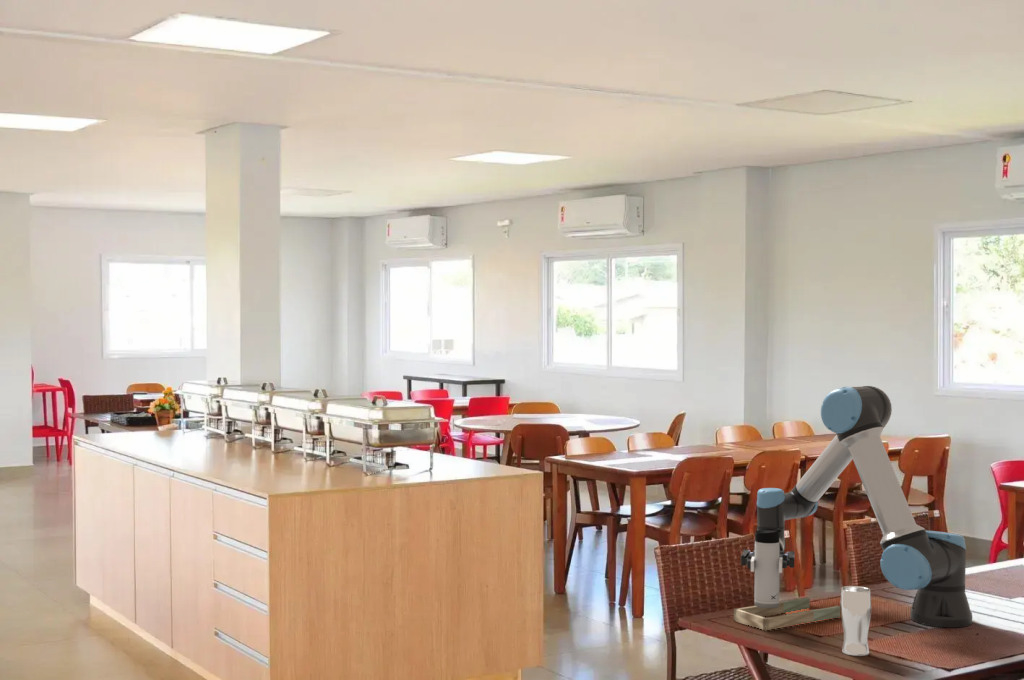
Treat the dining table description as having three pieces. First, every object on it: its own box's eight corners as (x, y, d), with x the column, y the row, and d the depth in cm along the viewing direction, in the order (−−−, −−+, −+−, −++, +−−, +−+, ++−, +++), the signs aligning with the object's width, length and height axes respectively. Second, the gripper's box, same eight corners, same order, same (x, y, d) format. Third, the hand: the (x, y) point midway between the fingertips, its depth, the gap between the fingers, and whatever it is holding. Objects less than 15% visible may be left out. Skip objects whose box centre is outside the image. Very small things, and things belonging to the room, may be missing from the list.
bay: (840, 618, 305) (840, 606, 305) (765, 631, 292) (765, 619, 292) (806, 608, 315) (806, 597, 315) (733, 620, 302) (733, 609, 302)
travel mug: (780, 609, 296) (780, 531, 296) (753, 607, 298) (754, 529, 297) (780, 603, 302) (781, 527, 302) (754, 602, 304) (755, 526, 304)
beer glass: (835, 648, 276) (836, 585, 276) (864, 648, 276) (864, 585, 276) (846, 657, 269) (846, 592, 269) (875, 656, 270) (876, 592, 269)
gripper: (806, 566, 315) (805, 583, 292) (733, 563, 320) (727, 580, 297) (805, 538, 315) (805, 553, 292) (733, 535, 320) (727, 550, 297)
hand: (766, 567), depth 295 cm, fingers closed on travel mug, 6 cm apart
